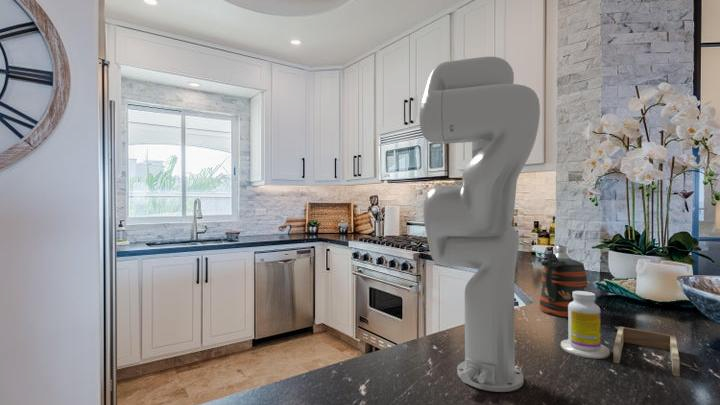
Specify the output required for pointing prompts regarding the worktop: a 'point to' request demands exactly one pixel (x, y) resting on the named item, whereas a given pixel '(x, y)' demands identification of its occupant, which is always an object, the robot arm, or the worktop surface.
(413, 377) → the worktop surface
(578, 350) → the disc
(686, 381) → the worktop surface
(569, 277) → the beer stein
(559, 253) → the plastic bottle
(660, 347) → the frame
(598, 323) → the supplement bottle
